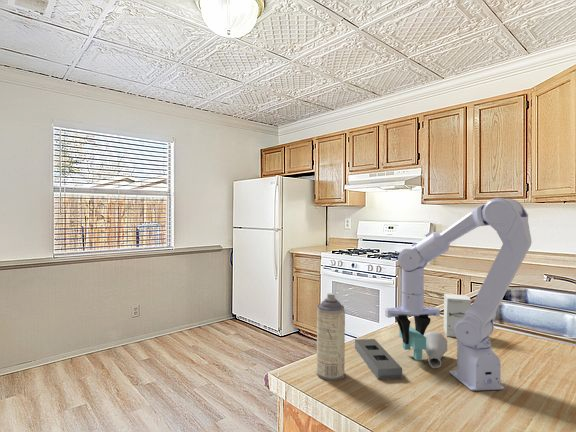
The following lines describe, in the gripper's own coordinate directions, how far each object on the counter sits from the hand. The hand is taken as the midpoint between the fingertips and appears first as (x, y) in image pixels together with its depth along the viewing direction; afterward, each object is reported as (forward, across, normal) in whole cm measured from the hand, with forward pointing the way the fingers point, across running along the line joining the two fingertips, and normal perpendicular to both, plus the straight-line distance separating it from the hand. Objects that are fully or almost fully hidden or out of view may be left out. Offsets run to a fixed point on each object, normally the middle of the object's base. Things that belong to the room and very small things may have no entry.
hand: (412, 342), depth 98 cm
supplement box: (+5, -24, -19) cm, 31 cm away
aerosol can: (+5, +24, +6) cm, 25 cm away
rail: (+5, +10, 0) cm, 11 cm away
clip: (+3, 0, 0) cm, 3 cm away
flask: (+1, -8, -4) cm, 9 cm away
